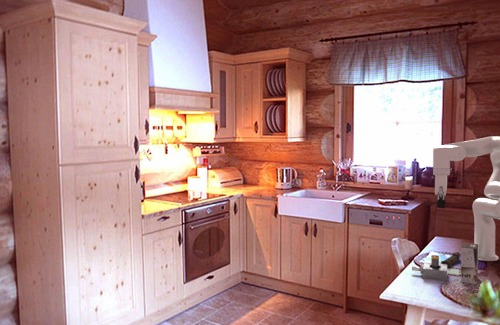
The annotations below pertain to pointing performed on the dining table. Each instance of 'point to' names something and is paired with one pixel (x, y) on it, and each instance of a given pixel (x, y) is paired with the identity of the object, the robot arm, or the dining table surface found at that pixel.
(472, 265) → the coffee box
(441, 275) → the chuck
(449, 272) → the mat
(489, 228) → the robot arm
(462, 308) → the dining table surface
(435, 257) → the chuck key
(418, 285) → the dining table surface
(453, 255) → the hand tool
